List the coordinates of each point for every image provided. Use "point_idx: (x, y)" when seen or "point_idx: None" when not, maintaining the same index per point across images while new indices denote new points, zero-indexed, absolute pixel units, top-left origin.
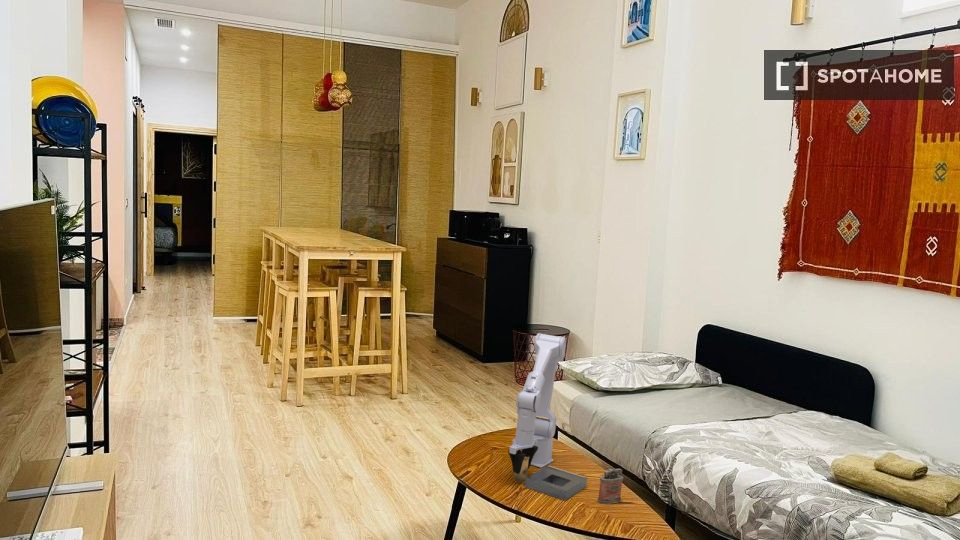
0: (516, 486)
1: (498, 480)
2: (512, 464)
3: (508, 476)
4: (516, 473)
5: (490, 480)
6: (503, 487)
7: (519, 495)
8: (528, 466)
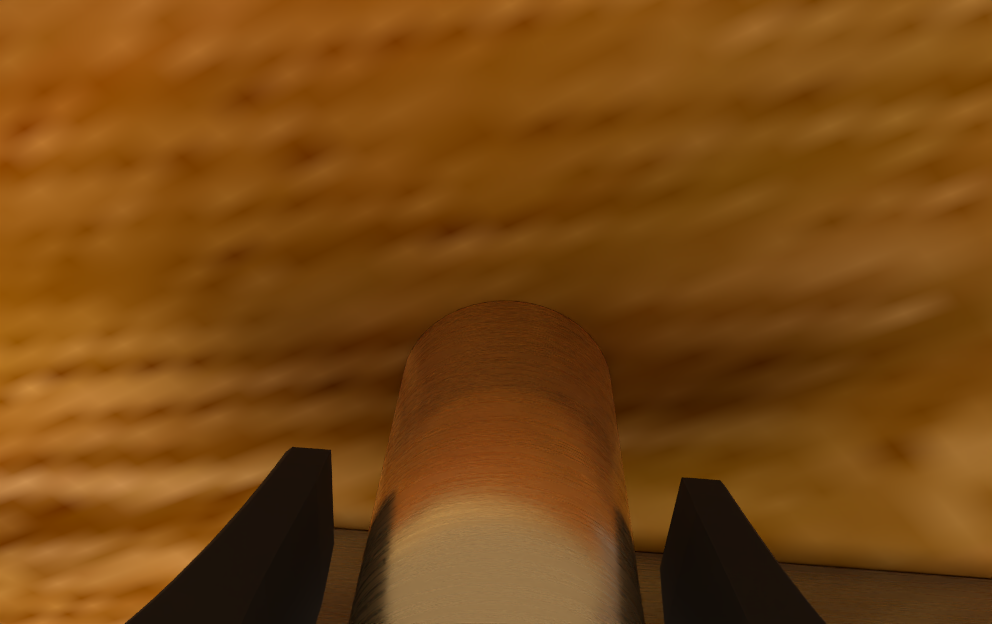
0: (230, 441)
1: (190, 129)
2: (207, 553)
3: (508, 186)
4: (390, 444)
5: (52, 5)
6: (21, 322)
7: (12, 565)
8: (663, 610)
